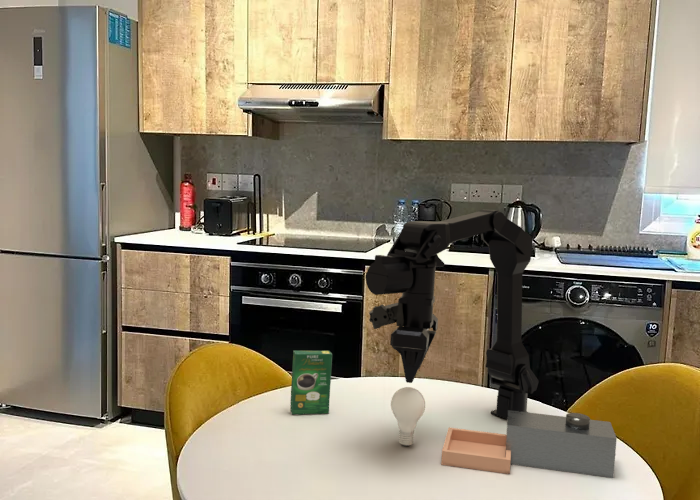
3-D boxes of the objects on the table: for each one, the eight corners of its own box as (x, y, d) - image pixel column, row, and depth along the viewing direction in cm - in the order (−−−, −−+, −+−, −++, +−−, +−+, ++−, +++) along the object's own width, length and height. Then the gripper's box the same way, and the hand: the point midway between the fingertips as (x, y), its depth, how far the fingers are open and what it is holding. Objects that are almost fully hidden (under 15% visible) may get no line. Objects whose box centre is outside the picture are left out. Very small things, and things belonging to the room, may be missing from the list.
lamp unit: (504, 463, 119) (507, 416, 118) (505, 445, 127) (508, 401, 126) (613, 477, 114) (617, 429, 113) (607, 458, 122) (610, 412, 121)
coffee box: (327, 409, 142) (330, 348, 141) (330, 414, 140) (332, 352, 138) (289, 410, 141) (291, 349, 139) (291, 415, 138) (293, 353, 136)
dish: (448, 440, 128) (448, 427, 128) (510, 448, 125) (511, 435, 125) (441, 464, 117) (442, 450, 117) (509, 474, 114) (510, 460, 114)
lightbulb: (421, 454, 121) (424, 395, 120) (386, 450, 122) (389, 391, 121) (424, 440, 127) (427, 384, 126) (391, 437, 129) (394, 381, 127)
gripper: (383, 281, 133) (379, 358, 134) (363, 295, 114) (358, 384, 116) (440, 285, 130) (435, 364, 132) (428, 301, 112) (423, 392, 113)
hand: (412, 375), depth 123 cm, fingers open, 9 cm apart
